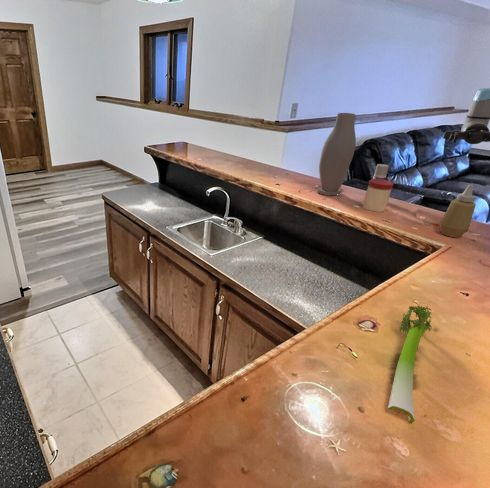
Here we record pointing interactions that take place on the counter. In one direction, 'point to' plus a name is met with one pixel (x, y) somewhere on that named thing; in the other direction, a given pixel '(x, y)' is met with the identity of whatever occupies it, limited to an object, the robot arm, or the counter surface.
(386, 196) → the jar
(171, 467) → the counter surface
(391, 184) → the lid
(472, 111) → the robot arm
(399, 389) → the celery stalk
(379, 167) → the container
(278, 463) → the counter surface
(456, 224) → the squeeze bottle
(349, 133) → the vase
